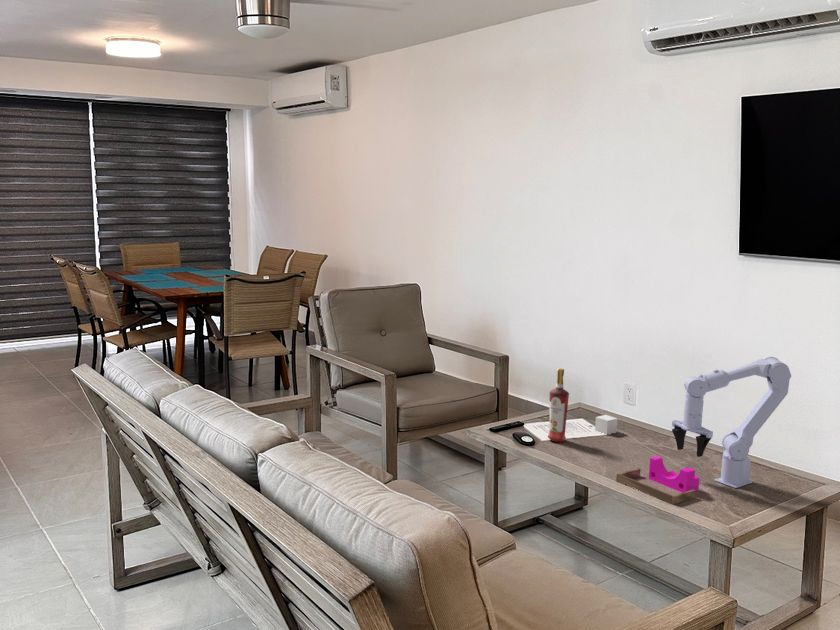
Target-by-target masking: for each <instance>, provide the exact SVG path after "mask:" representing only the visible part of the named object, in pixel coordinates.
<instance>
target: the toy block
mask: <svg viewBox="0 0 840 630" xmlns="http://www.w3.org/2000/svg"><path fill="white" fill-rule="evenodd" d="M663 461H664V460H663V457H660V456H659V455H657V456H654V457H653V456H652V457H650V458H649V468H648V469H649V471H648V480H650V481H653V482H655V483H658V484H661V485H663V486H665V487H667V488H670V489H672V490H675V491H677V492H679V493H683V492H686V491H690V490H693V489H694V490H696V492H698V491H699V487H700V477H699V476H697V475H696V470H695V469H693V468H691V467H686V468H682V469H680V471H679V472H678V473H677V472H675V471H674V470H669V471H668V470H667V468H666V466H665V464H664V462H663Z"/></svg>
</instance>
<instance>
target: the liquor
mask: <svg viewBox="0 0 840 630" xmlns="http://www.w3.org/2000/svg"><path fill="white" fill-rule="evenodd" d="M564 374H565V369H564V368H557V369H556V381H555V388H554V389H552V390H550V391H549V402H548V404H549V425H548V426H549V427H548V428H549V431H548V436H547V438H548V440H550V441H551V440H552V441H551V442H553V441H556V442H555V443H562V442H564V441H565V440H566V439H567V437H566V426H567V415H568V407H569V399H570V397H569V395H570V393H569V392H568V391H567V390H566V389H564Z"/></svg>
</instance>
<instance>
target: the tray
mask: <svg viewBox="0 0 840 630" xmlns="http://www.w3.org/2000/svg"><path fill="white" fill-rule="evenodd" d="M640 476H641V468H639V467H637V468H634V469H630V470H626V471H622V472H619V473H616V479H615V481H616V482H617V481H618V482H617V483H619V482H621V483H620V484H622V483H623V484H622V485H624V484H626V485H625V486H627V485H628V486H627V487H629V486H631V487H634V488H636V489H638V490H637V491H639V490H640V491H639V492H641V491H642V492H641V493H643V492H645V493H644V494H646V493H647V494H646V495H648V494H649V496H651V497H653V498H655V497H656V499H658V500H660V501H662V502H665V503H668V504H670V505H677V504H680V503H683V502H686V501H689V500H692V499H695V498H696V492H697V491H696V490H694V489H693V490H690V491H686V492H683V493H682V492H679V493H677V494H673V495H672V494H670V493H667V492H665V491H662V490H660V489H658V488H655V487H652V486H650V485H648V484H646V483H643V482H640V481H638V480H636V479H634V478H637V477H640ZM631 487H630V488H631ZM634 488H633V489H634ZM636 489H635V490H636Z"/></svg>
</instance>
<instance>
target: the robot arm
mask: <svg viewBox="0 0 840 630" xmlns="http://www.w3.org/2000/svg"><path fill="white" fill-rule="evenodd" d="M752 376H758V377H761V378H765V379H766V381H767V385H768V389H767V390H766V392H765V393H764V395H763V396H762V397H761V398H760V400H759V401H758V403H757V404H756V405H755V406H754V407H753V409H752V410H751V411H750V412H749V414H748V415H747V416H746V417H745V419H744V420H743V421H742V422H741V424H740V425H739V426H738V427H735V428H734V429H732V431H730V433H727V434H726V435H724V436H723V438H722V440H721V445H722V447H723V448H724V451H723V453H722V460H721V472H720V477H718V478H715V479H714V481H715V482H718V483H721V484H724V485H726V486H728V487H731V488H734V489H737V488H741V487H743V486H747V485H749V484H752V483H753V481H752V480H751V474H752V473H751V471H752V462H751V459H750V458H749V456H748V455H749V452H750V449H751V447H752V446H753V443H754V437H755V435H757V434H758V432H759V431H760V429H761V428H762V427H763V426H764V425H765V423H766V422H767V421H768V420H769V418H770V417H771V415H772V414H773V413H774V412H775V411H776V409H777V408H778V407H779V405H780V404H781V403H782V402H783V400H784V399H785V398H786V396H787V395H788V394H789V386H790V379H791V378H792V374H791V370H790V368H789V366H788V365H787V363H784V362H782V361H781V360H779V358H777V357H775V356H768V357H765V358H760V359H757V360H755V361H752V362H750V363H747V364H744V365H741V366H738V367H736V368H732V369H730V370H727V371H725V370H724V369H717V368H715V369H712V371H711V372H709V373H708V372H707V373H705V374H698V376H690V377H689V378H687V379H686V381H685V383H684V385H683V386H684V390H686V391H685V399H684V411H683V412H684V413H683V421H680V420H677V419H675V420H674V419H673V420H672V421H671V427H672V429H671V432H672V434H673V436H674V439H675V442H676V447H677V448H676V449H677V450H678V451H681V450H684V447H685V438H686V434H687V432H691V433H694V434H697V436H695V440H696V457H697V458H698V457H699V458H701V457H703V456H704V452H705V449H706V448H707V445H708V444H709V443H710V442H711V440H712V438H713V437H714V436H713V434H714V431H712V430H709V429H707V428H705V427H703V426H702V423H703V412H704V398H705V397H704V396H705V395H706V394H707V393H709V392H713V391H716V390H719V389H722V388H726V387H727V386H729V384H730V382H733V381H737V380H740V379H741V380H742V379H744V378H748V377H752Z"/></svg>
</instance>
